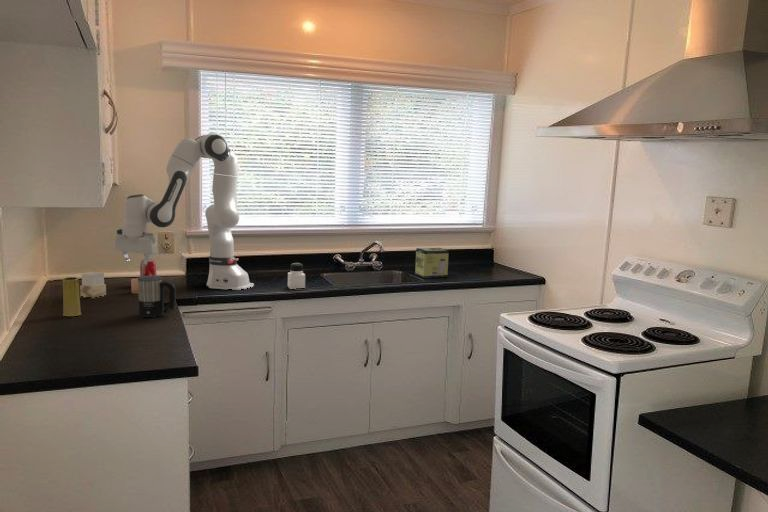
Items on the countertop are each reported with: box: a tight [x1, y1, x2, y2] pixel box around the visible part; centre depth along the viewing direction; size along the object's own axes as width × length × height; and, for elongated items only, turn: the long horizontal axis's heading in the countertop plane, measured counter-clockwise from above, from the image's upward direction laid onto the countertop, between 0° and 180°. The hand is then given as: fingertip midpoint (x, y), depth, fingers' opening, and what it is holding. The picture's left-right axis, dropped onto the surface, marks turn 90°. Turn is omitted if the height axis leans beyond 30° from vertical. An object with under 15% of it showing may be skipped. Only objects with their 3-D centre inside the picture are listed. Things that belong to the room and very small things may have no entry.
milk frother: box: [136, 275, 177, 318], centre depth 231 cm, size 14×16×15 cm
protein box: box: [414, 247, 450, 278], centre depth 330 cm, size 10×16×16 cm
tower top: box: [81, 271, 105, 287], centre depth 253 cm, size 6×6×5 cm
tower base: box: [79, 283, 107, 299], centre depth 254 cm, size 7×7×5 cm
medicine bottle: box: [287, 262, 306, 290], centre depth 286 cm, size 7×7×12 cm
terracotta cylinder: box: [130, 277, 139, 295], centre depth 263 cm, size 5×5×6 cm
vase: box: [62, 276, 82, 317], centre depth 221 cm, size 6×6×14 cm
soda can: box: [139, 258, 157, 277], centre depth 279 cm, size 7×7×12 cm
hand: (135, 262), depth 262 cm, fingers open, 8 cm apart
